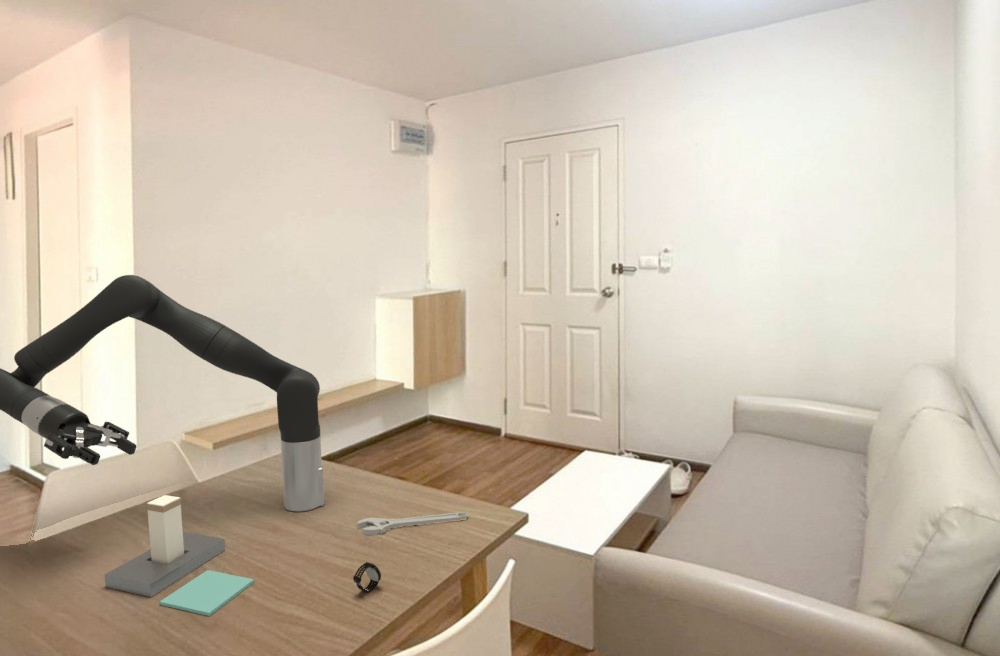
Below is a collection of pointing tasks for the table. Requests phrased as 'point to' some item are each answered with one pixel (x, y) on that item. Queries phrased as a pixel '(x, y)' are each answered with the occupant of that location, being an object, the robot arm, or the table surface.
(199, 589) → the mat
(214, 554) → the socket plate
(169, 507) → the post
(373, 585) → the smartwatch
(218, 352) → the robot arm
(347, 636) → the table surface
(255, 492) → the table surface
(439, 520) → the adjustable wrench
